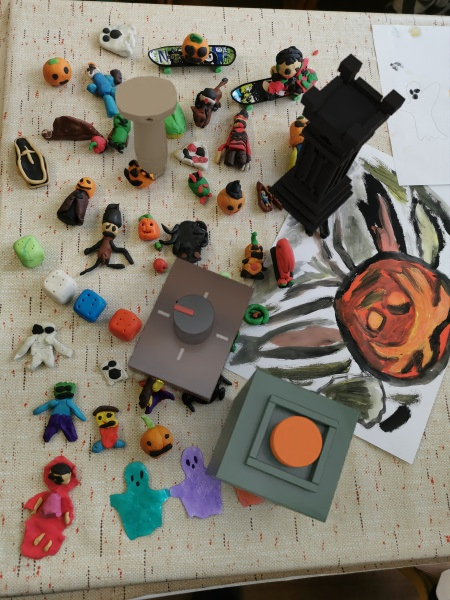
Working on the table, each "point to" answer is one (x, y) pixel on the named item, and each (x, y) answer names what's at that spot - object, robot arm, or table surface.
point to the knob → (193, 319)
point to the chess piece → (332, 143)
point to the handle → (148, 118)
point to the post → (259, 457)
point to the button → (296, 441)
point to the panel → (177, 354)
